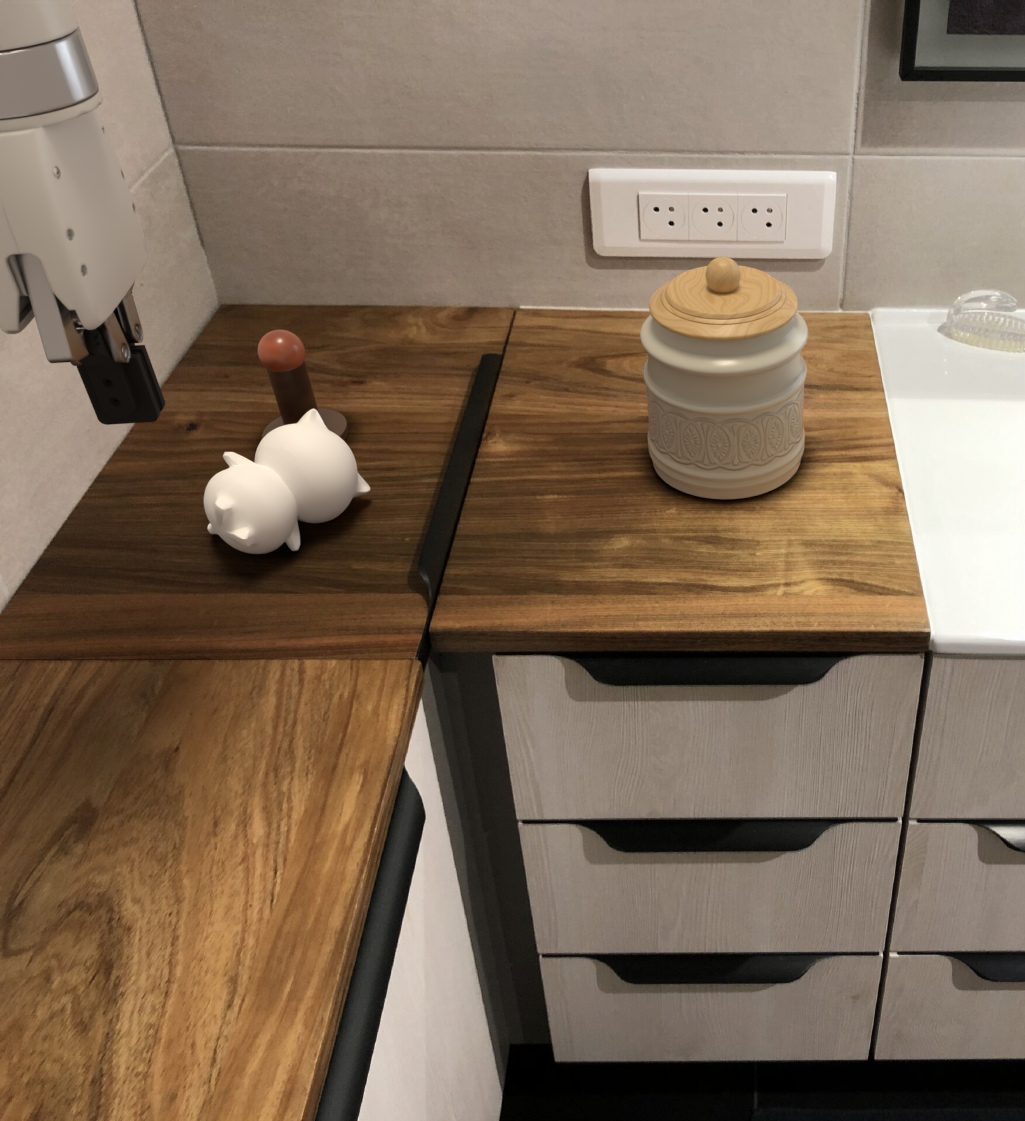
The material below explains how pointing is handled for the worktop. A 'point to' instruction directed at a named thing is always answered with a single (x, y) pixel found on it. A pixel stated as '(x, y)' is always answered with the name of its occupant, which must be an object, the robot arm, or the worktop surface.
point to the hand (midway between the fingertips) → (133, 415)
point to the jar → (725, 381)
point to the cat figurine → (282, 487)
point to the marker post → (293, 383)
